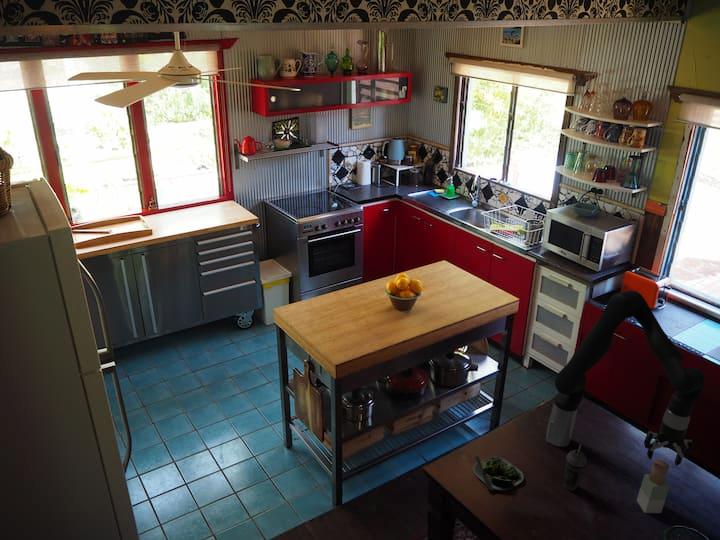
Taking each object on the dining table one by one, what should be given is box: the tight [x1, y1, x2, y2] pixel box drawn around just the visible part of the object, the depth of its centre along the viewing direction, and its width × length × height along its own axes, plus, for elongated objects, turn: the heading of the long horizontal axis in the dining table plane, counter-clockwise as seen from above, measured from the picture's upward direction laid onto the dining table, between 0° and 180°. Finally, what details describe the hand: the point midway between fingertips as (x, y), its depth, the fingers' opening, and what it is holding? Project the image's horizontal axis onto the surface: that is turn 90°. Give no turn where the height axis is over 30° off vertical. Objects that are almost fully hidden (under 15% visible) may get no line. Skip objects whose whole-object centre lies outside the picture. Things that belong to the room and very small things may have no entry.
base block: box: [636, 487, 666, 514], centre depth 214 cm, size 6×6×6 cm
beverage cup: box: [563, 443, 587, 492], centre depth 218 cm, size 7×7×20 cm
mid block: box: [640, 473, 671, 501], centre depth 211 cm, size 6×6×6 cm
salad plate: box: [473, 455, 525, 493], centre depth 225 cm, size 19×18×5 cm
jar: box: [649, 459, 670, 485], centre depth 209 cm, size 5×5×7 cm
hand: (662, 461), depth 207 cm, fingers open, 8 cm apart
